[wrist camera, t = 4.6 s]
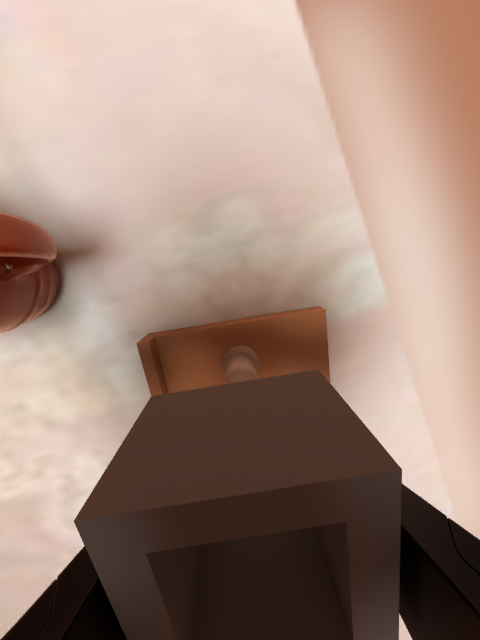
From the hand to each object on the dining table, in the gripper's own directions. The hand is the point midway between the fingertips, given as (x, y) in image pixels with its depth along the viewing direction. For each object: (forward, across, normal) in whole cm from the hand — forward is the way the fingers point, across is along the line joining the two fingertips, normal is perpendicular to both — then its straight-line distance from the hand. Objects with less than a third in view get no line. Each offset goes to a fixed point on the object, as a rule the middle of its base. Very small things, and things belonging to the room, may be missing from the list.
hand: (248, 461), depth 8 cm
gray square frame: (0, 0, 0) cm, 0 cm away
